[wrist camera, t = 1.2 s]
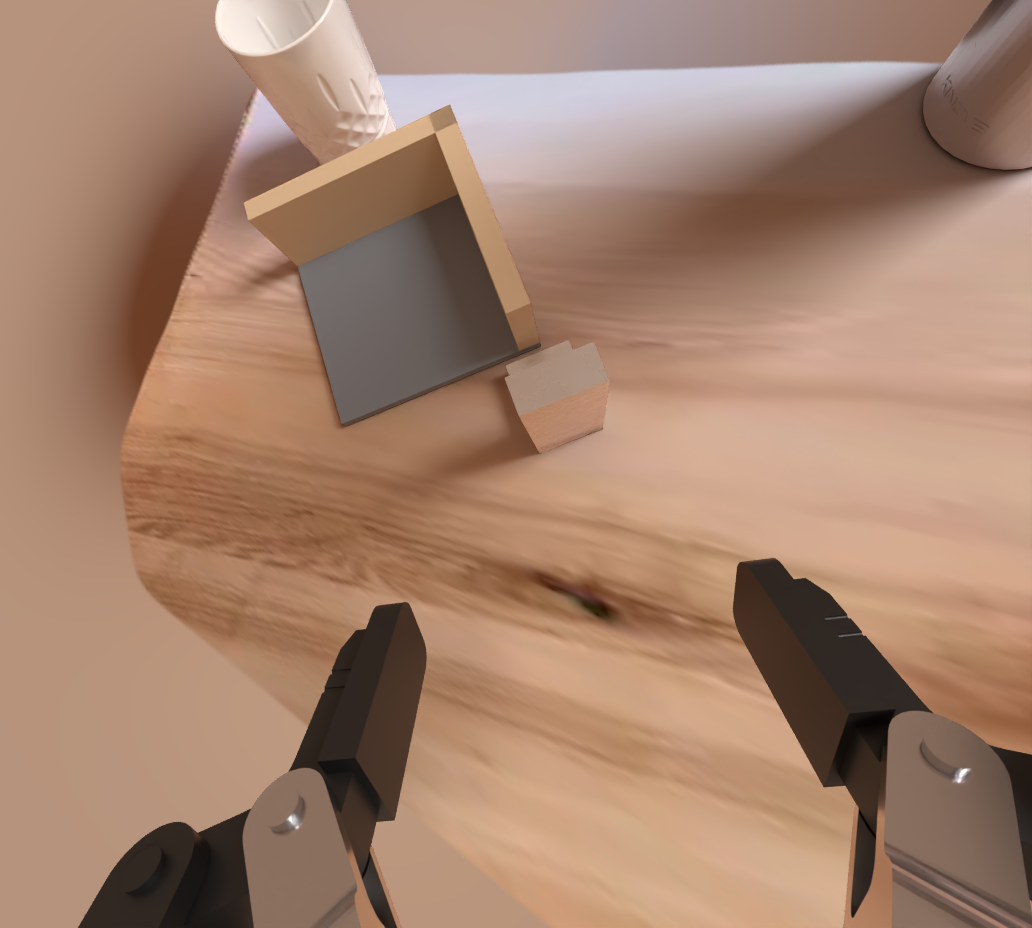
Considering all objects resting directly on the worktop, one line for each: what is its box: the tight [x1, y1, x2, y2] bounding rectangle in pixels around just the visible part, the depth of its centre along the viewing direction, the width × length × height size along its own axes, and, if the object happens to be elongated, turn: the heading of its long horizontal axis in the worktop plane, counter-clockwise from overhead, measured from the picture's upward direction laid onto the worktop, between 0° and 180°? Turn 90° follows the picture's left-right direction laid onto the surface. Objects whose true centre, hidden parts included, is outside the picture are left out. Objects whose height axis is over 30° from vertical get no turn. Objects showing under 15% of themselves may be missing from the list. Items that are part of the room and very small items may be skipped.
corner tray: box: [244, 105, 541, 426], centre depth 29 cm, size 15×15×6 cm
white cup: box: [215, 0, 397, 166], centre depth 30 cm, size 8×8×10 cm
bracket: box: [505, 340, 610, 453], centre depth 25 cm, size 4×6×9 cm
